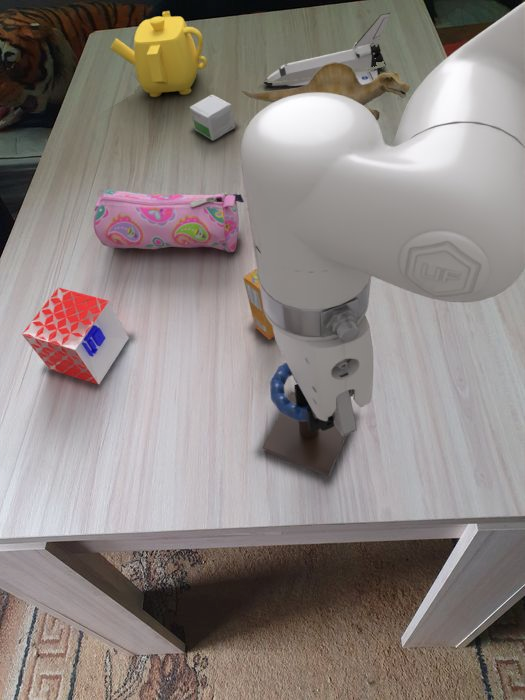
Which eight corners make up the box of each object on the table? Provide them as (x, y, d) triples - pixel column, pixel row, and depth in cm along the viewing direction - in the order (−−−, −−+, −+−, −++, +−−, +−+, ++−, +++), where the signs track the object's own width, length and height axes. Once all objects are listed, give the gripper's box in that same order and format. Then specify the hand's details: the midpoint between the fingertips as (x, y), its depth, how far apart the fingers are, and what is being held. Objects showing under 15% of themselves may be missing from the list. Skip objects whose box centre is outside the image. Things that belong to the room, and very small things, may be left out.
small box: (194, 130, 100) (188, 106, 96) (217, 117, 101) (212, 92, 97) (212, 142, 97) (207, 117, 93) (236, 128, 99) (232, 103, 95)
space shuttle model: (260, 67, 111) (254, 16, 103) (376, 49, 110) (380, -5, 102) (268, 106, 102) (263, 53, 94) (395, 86, 101) (401, 31, 93)
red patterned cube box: (81, 324, 74) (58, 287, 68) (129, 337, 72) (109, 300, 65) (49, 370, 70) (21, 334, 64) (98, 385, 68) (74, 350, 61)
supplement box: (271, 313, 72) (263, 261, 64) (287, 327, 70) (282, 276, 62) (252, 327, 71) (242, 275, 63) (268, 341, 69) (260, 291, 61)
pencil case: (248, 223, 83) (240, 174, 76) (238, 265, 78) (228, 217, 70) (121, 221, 87) (101, 174, 79) (103, 260, 81) (81, 215, 74)
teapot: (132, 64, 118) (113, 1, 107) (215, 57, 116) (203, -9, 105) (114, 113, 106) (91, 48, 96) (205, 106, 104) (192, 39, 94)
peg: (354, 417, 61) (357, 382, 55) (328, 477, 58) (328, 446, 51) (291, 395, 64) (287, 358, 58) (263, 451, 60) (255, 418, 54)
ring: (353, 375, 53) (354, 368, 52) (325, 434, 50) (325, 428, 49) (290, 352, 56) (289, 344, 54) (258, 407, 52) (257, 400, 51)
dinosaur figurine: (402, 146, 90) (412, 68, 79) (250, 157, 93) (240, 83, 82) (397, 121, 95) (406, 44, 84) (252, 132, 97) (242, 59, 86)
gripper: (426, 350, 32) (394, 467, 47) (314, 202, 41) (317, 340, 56) (315, 396, 31) (319, 501, 46) (225, 233, 40) (252, 366, 55)
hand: (318, 412), depth 51 cm, fingers closed on ring
